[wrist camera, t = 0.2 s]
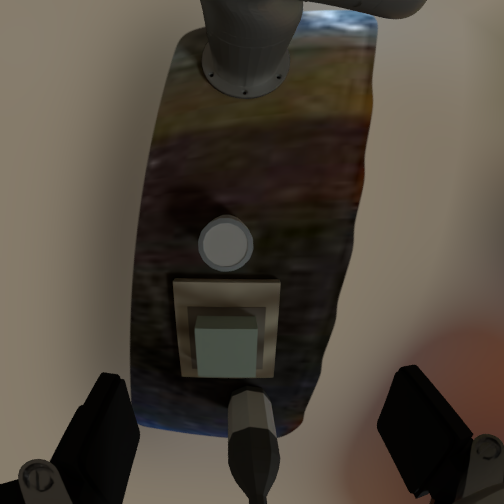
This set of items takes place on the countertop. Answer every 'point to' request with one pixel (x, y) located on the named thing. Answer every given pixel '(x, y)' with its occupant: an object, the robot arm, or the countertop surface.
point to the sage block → (226, 346)
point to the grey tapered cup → (225, 243)
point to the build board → (227, 304)
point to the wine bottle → (252, 442)
